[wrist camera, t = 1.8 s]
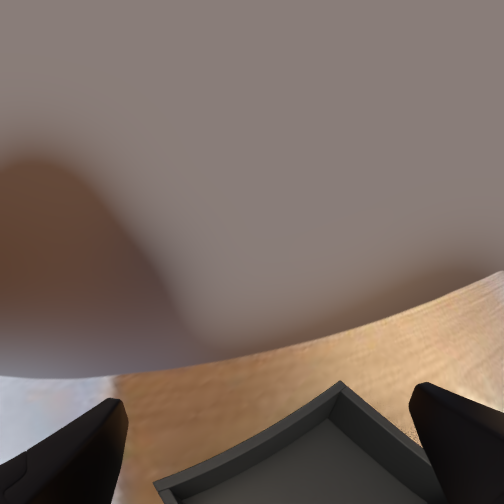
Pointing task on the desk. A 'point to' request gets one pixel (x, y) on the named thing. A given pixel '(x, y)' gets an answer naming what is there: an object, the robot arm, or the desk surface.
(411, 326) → the desk surface
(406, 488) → the bin
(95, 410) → the robot arm
